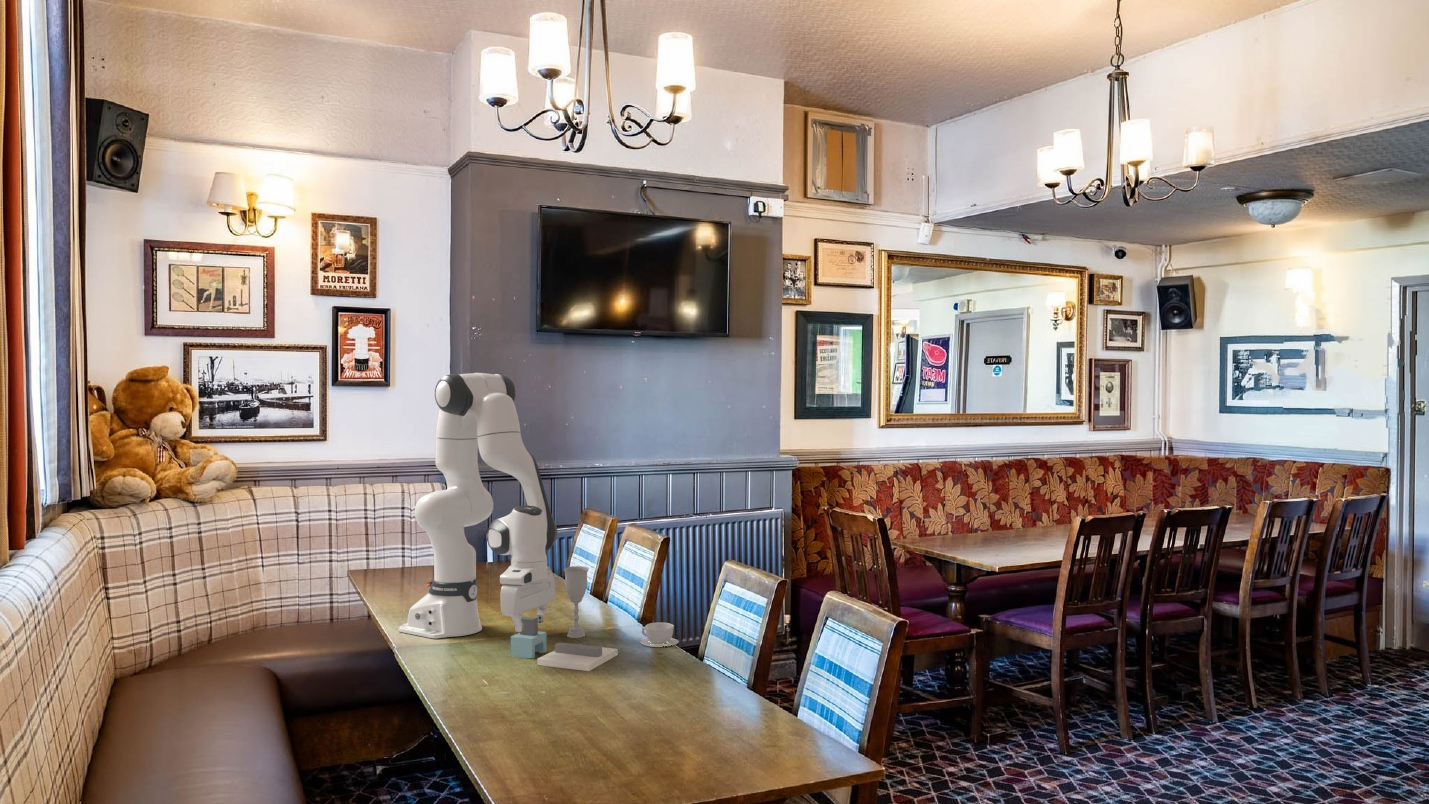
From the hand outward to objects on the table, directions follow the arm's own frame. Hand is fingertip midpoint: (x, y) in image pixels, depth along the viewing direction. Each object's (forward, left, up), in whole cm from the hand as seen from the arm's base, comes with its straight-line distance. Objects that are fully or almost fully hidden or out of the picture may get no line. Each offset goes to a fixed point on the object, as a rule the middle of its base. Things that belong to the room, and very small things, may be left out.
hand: (529, 626), depth 243 cm
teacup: (+25, +22, -7) cm, 34 cm away
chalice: (+2, +21, -7) cm, 22 cm away
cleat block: (0, 0, -7) cm, 7 cm away
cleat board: (+14, 0, -7) cm, 15 cm away
